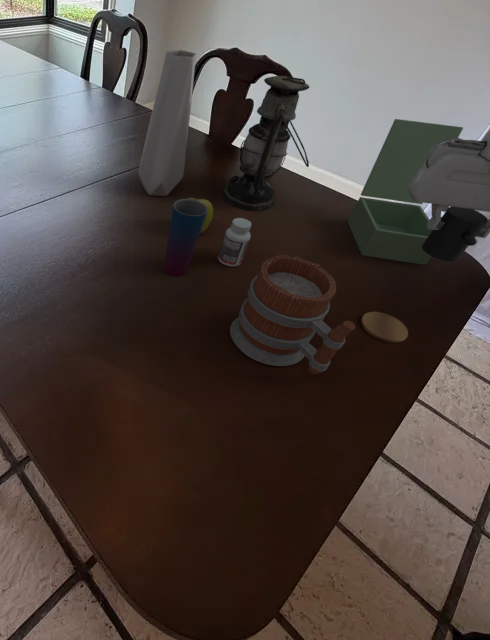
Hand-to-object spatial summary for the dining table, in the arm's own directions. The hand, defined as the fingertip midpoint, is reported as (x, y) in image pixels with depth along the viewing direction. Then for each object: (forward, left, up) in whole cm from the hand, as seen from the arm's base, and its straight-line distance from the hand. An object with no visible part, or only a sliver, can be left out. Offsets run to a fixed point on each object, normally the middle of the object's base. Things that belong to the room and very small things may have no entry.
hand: (454, 232), depth 72 cm
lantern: (+22, -48, -22) cm, 57 cm away
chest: (-9, -35, -22) cm, 42 cm away
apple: (+39, -26, -22) cm, 52 cm away
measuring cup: (0, +1, -4) cm, 4 cm away
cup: (+42, -8, -22) cm, 48 cm away
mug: (+22, +12, -22) cm, 33 cm away
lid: (-9, -44, -6) cm, 46 cm away
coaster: (0, 0, -22) cm, 22 cm away
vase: (+50, -44, -22) cm, 70 cm away
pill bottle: (+30, -15, -22) cm, 40 cm away
